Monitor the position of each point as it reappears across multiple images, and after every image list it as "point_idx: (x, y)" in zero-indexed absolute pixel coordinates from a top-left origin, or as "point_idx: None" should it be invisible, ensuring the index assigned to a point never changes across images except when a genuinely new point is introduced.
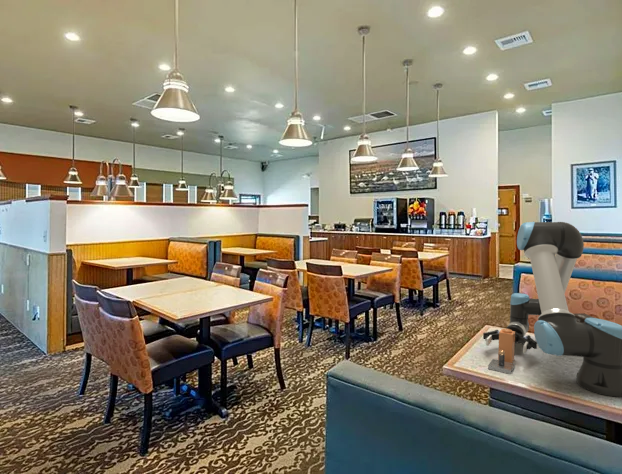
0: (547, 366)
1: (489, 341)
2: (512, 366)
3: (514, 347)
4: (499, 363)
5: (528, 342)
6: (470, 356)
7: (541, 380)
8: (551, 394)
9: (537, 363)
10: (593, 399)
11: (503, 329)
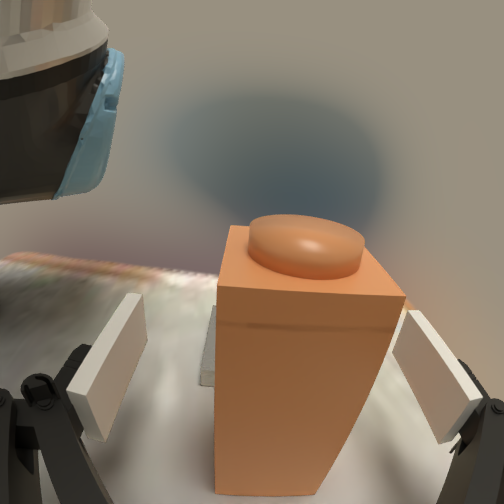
0: None
1: (416, 365)
2: (210, 336)
3: (214, 437)
4: None
5: (62, 402)
6: None
7: (104, 314)
8: (108, 265)
9: None
10: (19, 270)
11: (346, 231)
